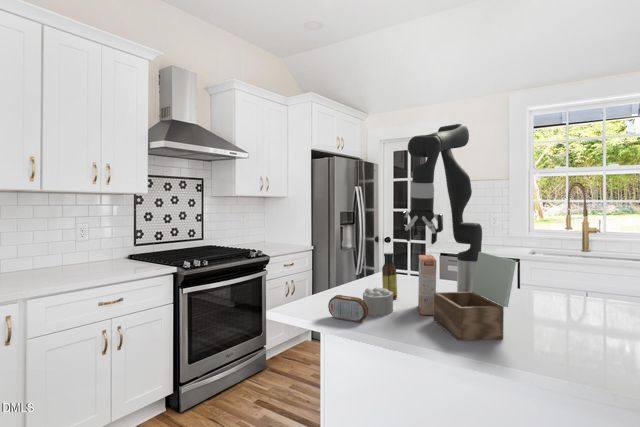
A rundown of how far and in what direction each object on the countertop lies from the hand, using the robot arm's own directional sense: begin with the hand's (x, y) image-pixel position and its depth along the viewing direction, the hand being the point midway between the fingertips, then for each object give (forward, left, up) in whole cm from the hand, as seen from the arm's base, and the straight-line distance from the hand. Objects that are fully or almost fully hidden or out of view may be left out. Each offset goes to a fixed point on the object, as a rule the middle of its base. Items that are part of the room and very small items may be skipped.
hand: (420, 242), depth 133 cm
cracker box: (-14, -9, -28) cm, 33 cm away
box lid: (-14, +18, -11) cm, 25 cm away
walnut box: (-7, +13, -28) cm, 32 cm away
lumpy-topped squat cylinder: (+3, -19, -29) cm, 34 cm away
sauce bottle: (-16, -31, -28) cm, 45 cm away
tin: (+19, -17, -29) cm, 38 cm away
